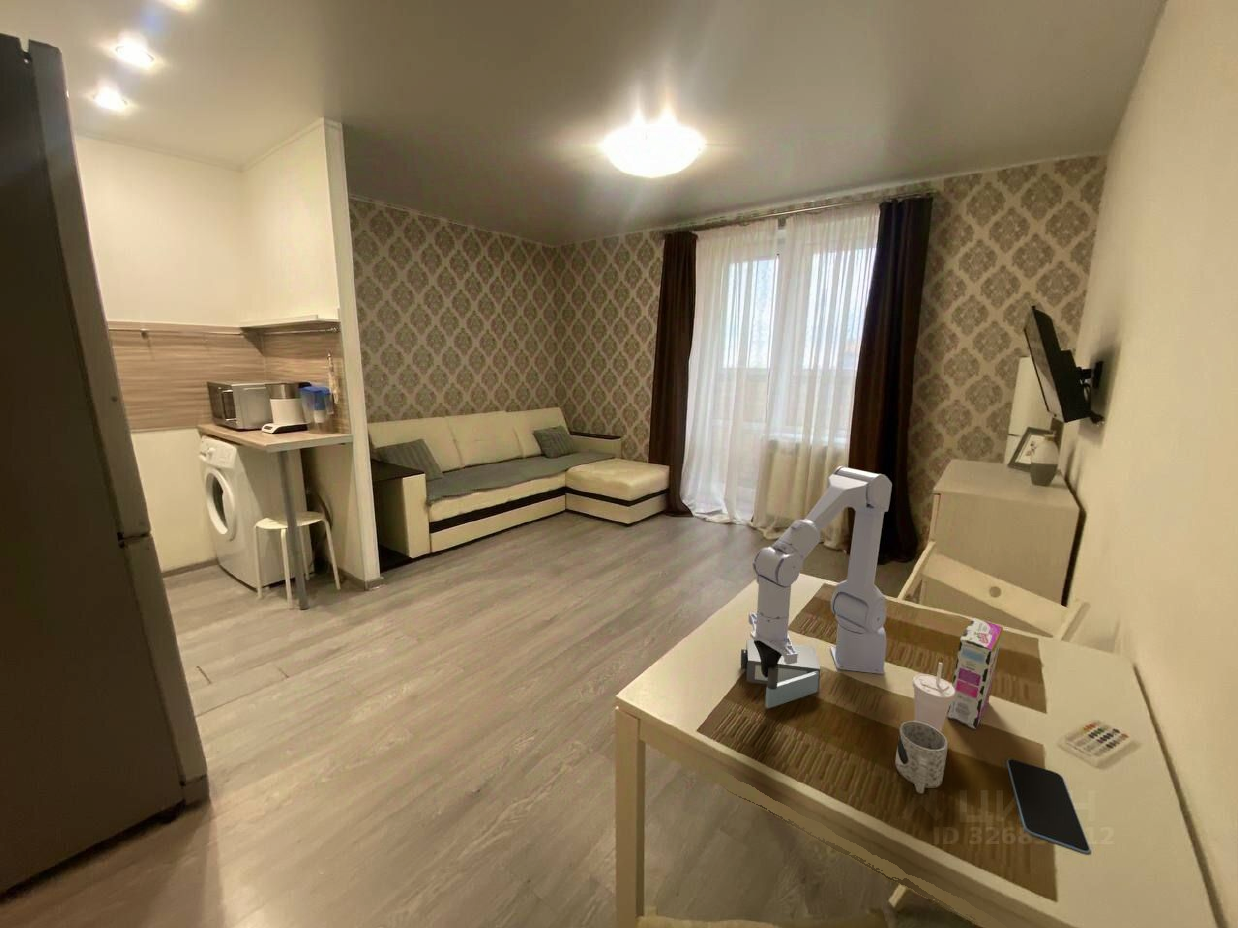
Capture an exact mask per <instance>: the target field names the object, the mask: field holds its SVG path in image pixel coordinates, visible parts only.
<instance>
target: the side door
mask: <svg viewBox="0 0 1238 928" xmlns="http://www.w3.org/2000/svg"><path fill="white" fill-rule="evenodd" d="M818 676H819V672H818V671H815V672H811V673H808V674H805V675H802V676H799V677H796V678H792V679H789V680H786V681H783V682H780V683H777V682H778V667H777V666H775V665H770V666H769V667H768V681H767V684H766V685H767V686H766V689H765V690H766V691H765V705H764V706H765V707H766V709H771V708H774V707H777V706H780V705H782V704H785V703H788V702H792V701H795V700H798V699H801V698H804V697H807V696H809V695H813V694H815V693H818V691H817V687H818Z"/></svg>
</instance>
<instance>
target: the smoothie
mask: <svg viewBox="0 0 1238 928" xmlns="http://www.w3.org/2000/svg"><path fill="white" fill-rule="evenodd" d="M942 670H943V663H942V662H938V667H937V673H936V675H932V674H927V673H922V674H916V675H915V676H914V677H913V679H912V683H911V686H912V687H913V694H914V695H913V696H914V697H913V699H914V721H918V722H922V723H925V724H928V725H930V726H932V727H934V728H936V729H937V730H939V731H940V732H941V733H942V729H943V727H944V723H945V720H946V717H947V713H948V709H949V707H950V704H951V701H952V700H954V698H955V689H954V687H953V686H952V684H951V683H950V682H948V681H947V680H945V679H943V678H942V677H941V676H942Z"/></svg>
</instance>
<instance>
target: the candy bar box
mask: <svg viewBox="0 0 1238 928" xmlns="http://www.w3.org/2000/svg"><path fill="white" fill-rule="evenodd" d="M1003 628H1004V627H1003V626H1001V625H998V624H997V623H992V622H989V621H985V620H982V619H980V618H975V617H973V618H972V620H971V621H970V623H969V625H968V626H967V627H966V629H965V631H964V633H963V634H962V636H961V637H960V639H959V646H958V652H957V656H956V662H955V667H954V673H953V679H952V684H951V685H952V686H953V687H954V689H955V698H954V700H952V701H951V704H950V707H949V709H948V712H947V715H946V717H947V718H948V719H951V720H952V721H955V722H957V723H958V724H961V725H963V726H966V727H967V728H970V729H973V730H977V729H978V727H979V724H980V721H981V719H982V716H983V714H984V713H985V710H986V708H987V706H988V703H989V700H990V696H991V695H990V694H991V690H992V685H993V679H994V674H995V669H996V664H997V660H998V655H999V649H1000V645H1001V640H1002V634H1003Z"/></svg>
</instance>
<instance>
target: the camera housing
mask: <svg viewBox="0 0 1238 928" xmlns="http://www.w3.org/2000/svg"><path fill="white" fill-rule="evenodd" d="M792 645H793V648H794V650H795V651H796V652H797V653H798V656H797V663H794V664H788V665H787V664H786V663H785V662H784V657H783V656H781V658H780V659H779V661H778V666H777V667H778V682H777V683H780V682H783V681H786V680H789V679H792V678H796V677H799V676H802V675H805V674H808V673H811V672H815V671H818V672H819V676H818V687H817V692H819V689H820V681H821V680H820V679H821V666H820V662H819V659H818V656H817V652H816V648H815V645H806V644H797V643H792ZM745 646H746V647H745V648H746V649H744V648H743V649H742V648H741V651H740V669H741V670H745V671H746V683H753V684H761V685H767V681H768V677H767V678H765V677H764V675H763V674H762V671H761V660H760V656H759V653H758V650H757V648H756V646H755V644H754V640H753V638H746V645H745Z"/></svg>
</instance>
